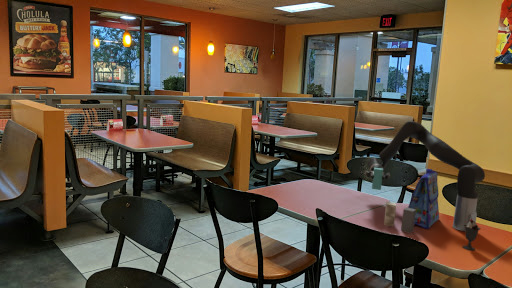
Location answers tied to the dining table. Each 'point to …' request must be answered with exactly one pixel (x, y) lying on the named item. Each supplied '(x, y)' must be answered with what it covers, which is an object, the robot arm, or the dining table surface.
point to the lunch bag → (426, 200)
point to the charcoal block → (408, 220)
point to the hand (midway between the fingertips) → (377, 177)
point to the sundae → (471, 233)
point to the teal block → (377, 178)
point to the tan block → (390, 214)
